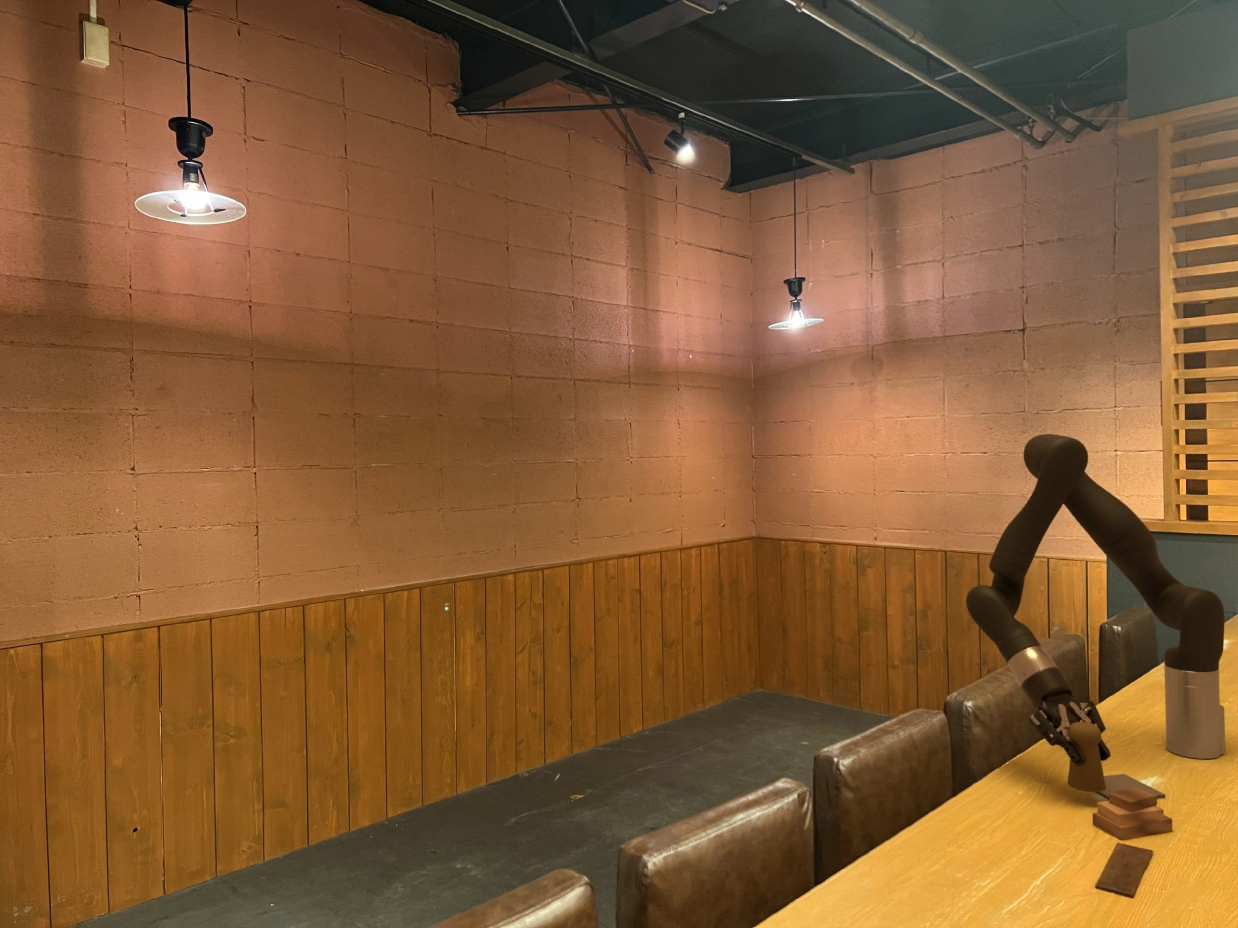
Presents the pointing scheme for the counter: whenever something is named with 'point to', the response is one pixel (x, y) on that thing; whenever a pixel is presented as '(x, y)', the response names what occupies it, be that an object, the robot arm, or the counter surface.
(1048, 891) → the counter surface
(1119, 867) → the wooden plank
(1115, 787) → the slate coaster
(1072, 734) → the cork
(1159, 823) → the offcut stack
